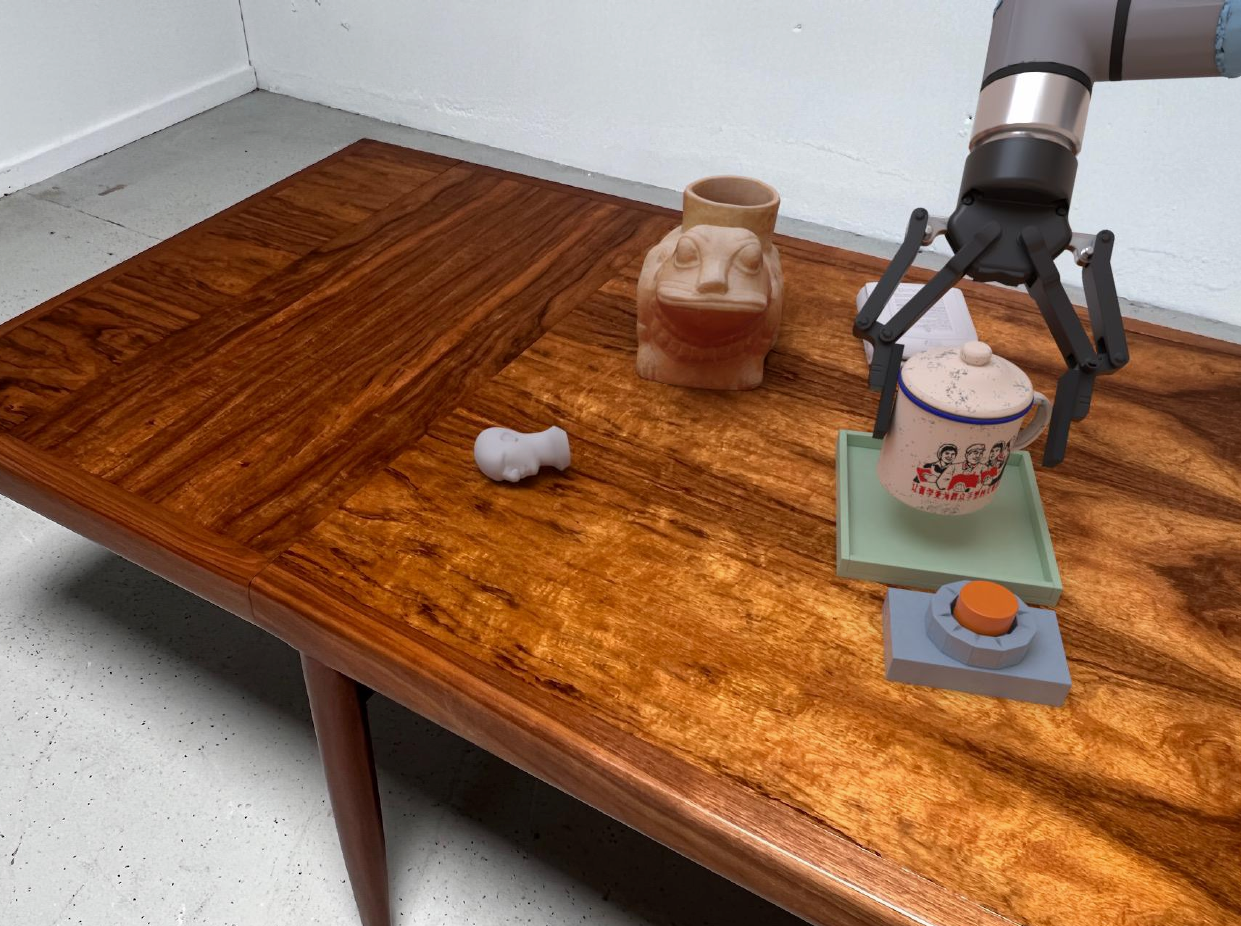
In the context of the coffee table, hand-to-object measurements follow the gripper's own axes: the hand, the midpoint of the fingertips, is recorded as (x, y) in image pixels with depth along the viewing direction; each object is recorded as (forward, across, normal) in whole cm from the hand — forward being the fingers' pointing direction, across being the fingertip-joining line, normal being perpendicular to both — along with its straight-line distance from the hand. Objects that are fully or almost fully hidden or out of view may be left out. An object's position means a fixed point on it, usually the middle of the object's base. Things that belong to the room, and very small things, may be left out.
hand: (964, 449), depth 77 cm
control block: (+15, -2, +3) cm, 15 cm away
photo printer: (-21, +4, -30) cm, 37 cm away
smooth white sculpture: (+7, +33, -5) cm, 34 cm away
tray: (+4, 0, -8) cm, 9 cm away
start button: (+12, -2, +5) cm, 13 cm away
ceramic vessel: (-11, +22, -24) cm, 34 cm away
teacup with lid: (+2, 0, -5) cm, 5 cm away
